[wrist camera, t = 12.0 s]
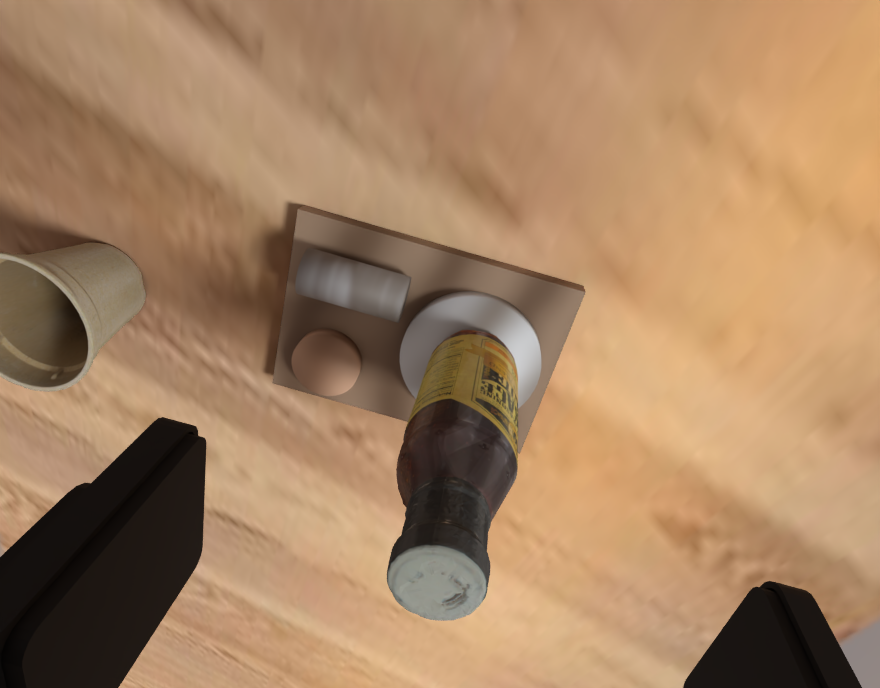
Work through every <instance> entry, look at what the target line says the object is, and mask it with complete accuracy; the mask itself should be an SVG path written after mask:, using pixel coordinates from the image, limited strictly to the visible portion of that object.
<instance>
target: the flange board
mask: <svg viewBox="0 0 880 688" xmlns="http://www.w3.org/2000/svg"><path fill="white" fill-rule="evenodd" d="M584 295H585V289H584V286H581V285H578V284H574V283H571V282H567V281H564V280H561V279H557V278H554V277H550V276H547V275H543V274H540V273H536V272H533V271H529V270H526V269H523V268H519V267H516V266H512V265H509V264H505V263H502V262H498V261H495V260H491V259H488V258H485V257H481V256H478V255H474V254H471V253H467V252H464V251H460V250H457V249H453V248H450V247H447V246H443V245H440V244H436V243H433V242H429V241H426V240H422V239H419V238H415V237H412V236H409V235H405V234H402V233H398V232H395V231H391V230H388V229H384V228H381V227H377V226H374V225H370V224H367V223H364V222H360V221H357V220H353V219H350V218H346V217H343V216H339V215H336V214H332V213H329V212H326V211H322V210H319V209H315V208H312V207H308V206H305V205H303V206H302V207H300V208H299V209H298V211H297V218H296V225H295V232H294V239H293V246H292V252H291V259H290V266H289V273H288V280H287V287H286V293H285V300H284V307H283V314H282V321H281V327H280V334H279V341H278V348H277V355H276V362H275V368H274V375H273V382H272V383H274V384H277V385H281V386H284V387H288V388H291V389H295V390H298V391H302V392H305V393H309V394H312V395H316V396H319V397H323V398H326V399H330V400H333V401H337V402H340V403H344V404H347V405H351V406H354V407H358V408H361V409H365V410H368V411H372V412H375V413H379V414H382V415H386V416H389V417H393V418H396V419H400V420H403V421H407V422H408V421H409V418H410V415H411V412H412V409H413V406H414V403H415V401H416V398H417V395H418V392H419V389H420V386H421V383H422V380H423V377H424V374H425V371H426V368H427V365H428V362H429V360H430V358H431V355H432V353H433V351H434V350H435V349H436V347H437V346H438V345H440V343H442V342H443V341H444V340H445V339H446V338H447V337H449V336H450V335H453V334H454V333H457V332H459V331H461V330H475V331H482V332H487V333H490V334H492V335H495V336H497V337H498V338H499V339H500V340H501V341H502V342H503V343H504V344H505V345H506V347H507V348H508V349H509V351H510V352H511V354H512V355H513V357H514V360H515V363H516V367H517V372H518V453H519V454H520V452H521V449H522V447H523V444H524V442H525V439H526V437H527V435H528V432H529V430H530V427H531V425H532V422H533V420H534V417H535V415H536V412H537V410H538V408H539V405H540V403H541V400H542V398H543V395H544V393H545V390H546V388H547V385H548V383H549V380H550V378H551V376H552V373H553V371H554V368H555V366H556V363H557V361H558V358H559V356H560V353H561V351H562V349H563V346H564V344H565V341H566V339H567V336H568V334H569V331H570V329H571V326H572V324H573V322H574V319H575V317H576V314H577V312H578V309H579V307H580V304H581V302H582V299H583V297H584Z"/></svg>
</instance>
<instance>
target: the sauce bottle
mask: <svg viewBox="0 0 880 688" xmlns="http://www.w3.org/2000/svg"><path fill="white" fill-rule="evenodd" d="M517 468H518V372H517V367H516V363H515V360H514V357H513V355H512V354H511V352H510V351H509V349H508V348H507V347H506V345H505V344H504V343H503V342H502V341H501V340H500V339H499V338H498V337H497V336H495V335H492V334H490V333H487V332H482V331H475V330H461V331H459V332H457V333H454V334H453V335H450V336H449V337H447V338H446V339H445V340H444V341H443V342H442V343H440V345H438V346H437V347H436V349H435V350H434V351H433V353H432V355H431V358H430V360H429V362H428V365H427V368H426V371H425V374H424V377H423V380H422V383H421V386H420V389H419V392H418V395H417V398H416V401H415V403H414V406H413V409H412V412H411V415H410V418H409V421H408V424H407V427H406V430H405V434H404V443H403V445H402V447H401V450H400V454H399V457H398V462H397V469H396V470H397V483H398V489H399V492H400V495H401V497H402V500H403V504H404V505H405V506H406V507H407V509H406V513H405V517H406V520H405V523H404V526H403V530H402V535H401V536H400V537H399V538H398V539H397V541H396V543H395V544H394V546H393V549H392V552H391V556H390V560H389V565H388V570H387V582H388V586H389V588H390V590H391V592H392V594H393V596H394V597H395V599H396V601H397V602H398V603H399V604H400V605H401V606H403V607H404V608H405V609H406V610H408V611H410V612H412V613H415V614H418V615H419V616H421V617H424V618H426V619H431V620H455V619H458V618H462V617H465V616H466V615H469V614H471V613H472V612H473V611H474V610H475V609H476V608H477V607H479V605H480V604H481V602H482V601H483V600H484V598H485V596H486V593H487V587H488V582H489V576H490V561H489V557H488V553H487V541H488V531H489V528H490V524H491V521H492V519H493V518H494V516H495V514H496V512H497V511H498V509H499V507H500V505H501V504H502V502H503V500H504V499H505V497H506V495H507V493H508V492H509V490H510V488H511V487H512V485H513V483H514V481H515V479H516V476H517Z"/></svg>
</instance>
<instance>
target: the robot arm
mask: <svg viewBox="0 0 880 688" xmlns="http://www.w3.org/2000/svg"><path fill="white" fill-rule="evenodd" d="M205 464H206V440H205V438H203V437H200V436H198V430H197V428H196V426H193V425H190V424H186V423H182V422H178V421H175V420H171V419H167V418H164V417H162V418H158V419H157V420H156V421H154V422H153V423H152V424H151V425H150V426H149V427H148V428H147V429H146V430H145V431H144V432H143V433H142V434H141V435H140V436H139V437H138V438H137V439H136V440H135V441H134V442H133V443H132V444H131V445H130V446H129V447H128V448H127V449H126V450H125V451H124V452H123V453H122V454H121V455H120V456H119V457H118V458H117V459H116V460H114V461H113V462H112V463H111V464H110V465H109V466H108V467H107V468H106V469H105V470H104V471H103V472H102V473H101V474H100V475H99V476H98V477H97V478H96V479H95V480H94V481H93V482H92V483H83V484H81V485H78V486H76V487H75V488H74V489H72V490H71V491H70V492H68V493H67V494H66V495H65V496H64V497H63V498H62V499H61V500H60V501H59V502H58V503H57V504H56V505H55V506H54V507H52V508H51V509H50V510H49V511H48V512H47V513H46V514H45V515H44V516H43V517H42V518H41V519H40V520H39V521H38V522H37V523H36V524H35V525H34V526H32V527H31V528H30V529H29V530H28V531H27V532H26V533H25V534H24V535H23V536H22V537H21V538H20V539H19V540H18V541H17V542H16V543H15V544H14V545H13V546H11V547H10V548H9V549H8V550H7V551H6V552H5V553H4V554H3V555H2V556H1V557H0V688H118V687H119V686H120V684H121V683H122V681H123V680H124V678H125V676H126V675H127V673H128V672H129V670H130V669H131V667H132V666H133V664H134V663H135V661H136V659H137V658H138V656H139V655H140V653H141V652H142V650H143V649H144V647H145V646H146V644H147V642H148V641H149V639H150V638H151V636H152V635H153V633H154V632H155V630H156V628H157V627H158V625H159V624H160V622H161V621H162V619H163V618H164V616H165V615H166V613H167V611H168V610H169V608H170V607H171V605H172V604H173V602H174V601H175V599H176V598H177V596H178V594H179V593H180V591H181V590H182V588H183V587H184V585H185V584H186V582H187V581H188V579H189V577H190V576H191V574H192V573H193V571H194V569H195V568H196V566H197V564H198V562H199V559H200V556H201V552H202V547H203V519H204V492H205ZM683 688H862V687H861V685H860V683H859V681H858V679H857V677H856V676H855V674H854V672H853V670H852V668H851V666H850V664H849V662H848V661H847V659H846V657H845V655H844V653H843V651H842V649H841V647H840V646H839V644H838V642H837V640H836V638H835V636H834V634H833V632H832V631H831V629H830V627H829V625H828V623H827V621H826V619H825V617H824V616H823V614H822V612H821V610H820V608H819V606H818V604H817V602H816V601H815V599H814V598H813V596H812V595H811V594H810V593H809V592H807V591H806V590H802V589H798V588H795V587H791V586H787V585H784V584H780V583H776V582H772V581H768V582H765V583H763V584H762V585H761V586H760V587H754V588H752V589H751V590H750V591H749V593H748V594H747V596H746V597H745V598H744V600H743V601H742V603H741V604H740V605H739V607H738V608H737V609H736V611H735V612H734V614H733V615H732V616H731V618H730V619H729V621H728V622H727V623H726V625H725V626H724V627H723V629H722V630H721V632H720V633H719V634H718V636H717V637H716V639H715V640H714V641H713V643H712V644H711V646H710V647H709V648H708V650H707V651H706V652H705V654H704V655H703V657H702V658H701V659H700V661H699V662H698V664H697V665H696V666H695V668H694V669H693V671H692V672H691V673H690V675H689V676H688V677H687V679H686V681H685V683H684V687H683Z"/></svg>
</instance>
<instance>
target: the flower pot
mask: <svg viewBox="0 0 880 688" xmlns="http://www.w3.org/2000/svg"><path fill="white" fill-rule="evenodd" d="M145 298H146V292H145V290H144V286H143V281H142V274H141V272H140V270H139V269H138V267H137V266H136V265H135V263H134V262H133V261H132V260H131V259H130V258H129V257H128V256H127V255H126V254H124V253H123V252H121V251H120V250H118V249H117V248H115V247H113V246H110V245H108V244H101V243H84V244H80V245H75V246H70V247H65V248H60V249H55V250H50V251H44V252H39V253H34V254H29V255H24V254H9V253H3V252H0V376H1V377H2V378H4V379H6V380H8V381H9V382H12V383H14V384H16V385H20V386H23V387H24V388H28V389H31V390H35V391H48V392H49V391H58V390H63V389H66V388H69V387H71V386H72V385H74V384H76V383H77V382H78V381H80V380H81V379H82V378H83V377H84V376H85V375H86V374H87V372H88V371H89V369H90V367H91V365H92V363H93V360H94V358H95V357H96V356H97V354H98V351H99V349H100V348H101V347H102V346H104V345H105V344H106V343H107V342H108V341H109V340H110V339H111V338H112V337H113V336H114V335H115V334H116V333H117V332H118V331H119V330H120V329H121V328H122V327H123V326H124V325H125V324H126V323H127V322H129V321H130V320H131V319H132V318H133V317H134V316H135V315H136V314H137V313H138V312H139V311H140V310H141V308H142V307H143V304H144V302H145Z"/></svg>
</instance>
